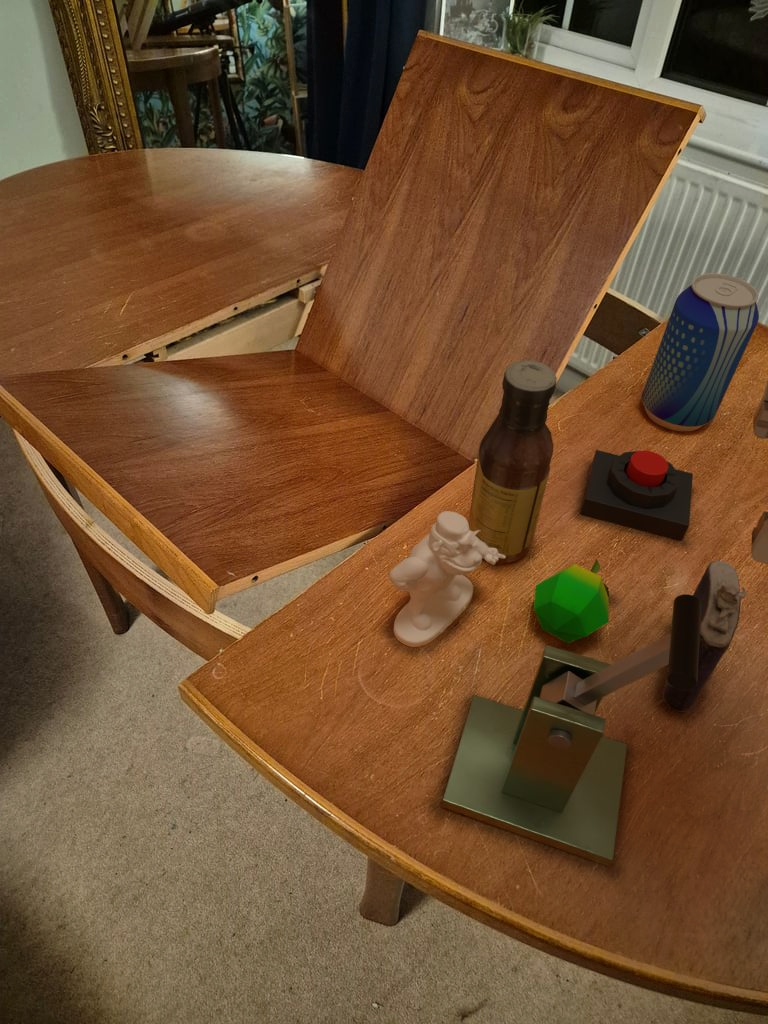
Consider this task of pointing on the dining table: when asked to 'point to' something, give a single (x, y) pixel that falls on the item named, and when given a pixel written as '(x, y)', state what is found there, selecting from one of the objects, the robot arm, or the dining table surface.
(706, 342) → the beer can
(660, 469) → the button
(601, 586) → the apple
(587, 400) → the dining table surface
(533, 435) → the sauce bottle
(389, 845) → the dining table surface
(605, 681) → the lever
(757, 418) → the robot arm
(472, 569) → the figurine
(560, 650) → the bracket
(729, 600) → the eggplant half
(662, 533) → the control block
